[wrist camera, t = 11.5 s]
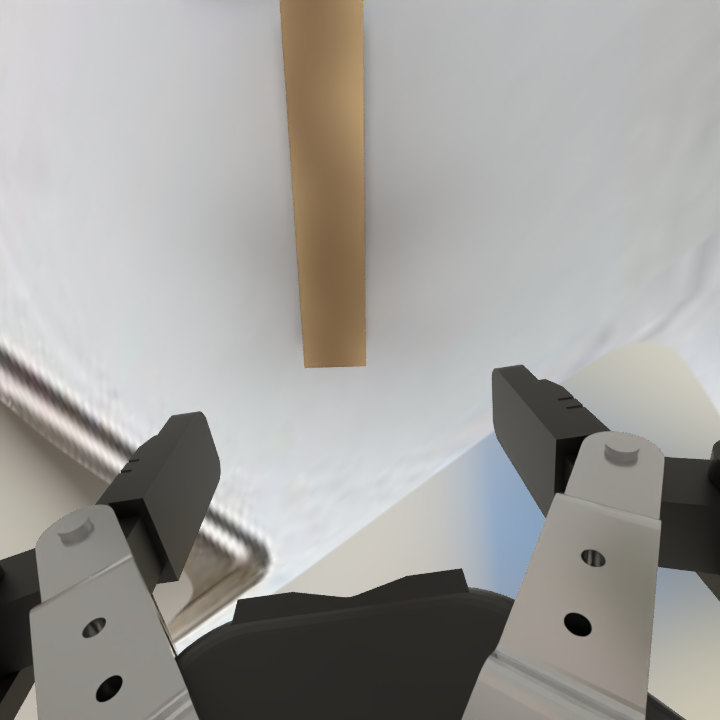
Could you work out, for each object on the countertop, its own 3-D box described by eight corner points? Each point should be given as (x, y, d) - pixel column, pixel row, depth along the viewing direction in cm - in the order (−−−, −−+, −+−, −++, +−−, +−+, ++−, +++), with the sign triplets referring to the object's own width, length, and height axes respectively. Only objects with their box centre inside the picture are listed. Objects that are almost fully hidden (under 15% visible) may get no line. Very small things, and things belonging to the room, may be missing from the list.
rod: (358, 28, 22) (362, -4, 18) (362, 342, 28) (365, 366, 25) (289, 28, 22) (279, -4, 18) (309, 343, 28) (304, 367, 24)
